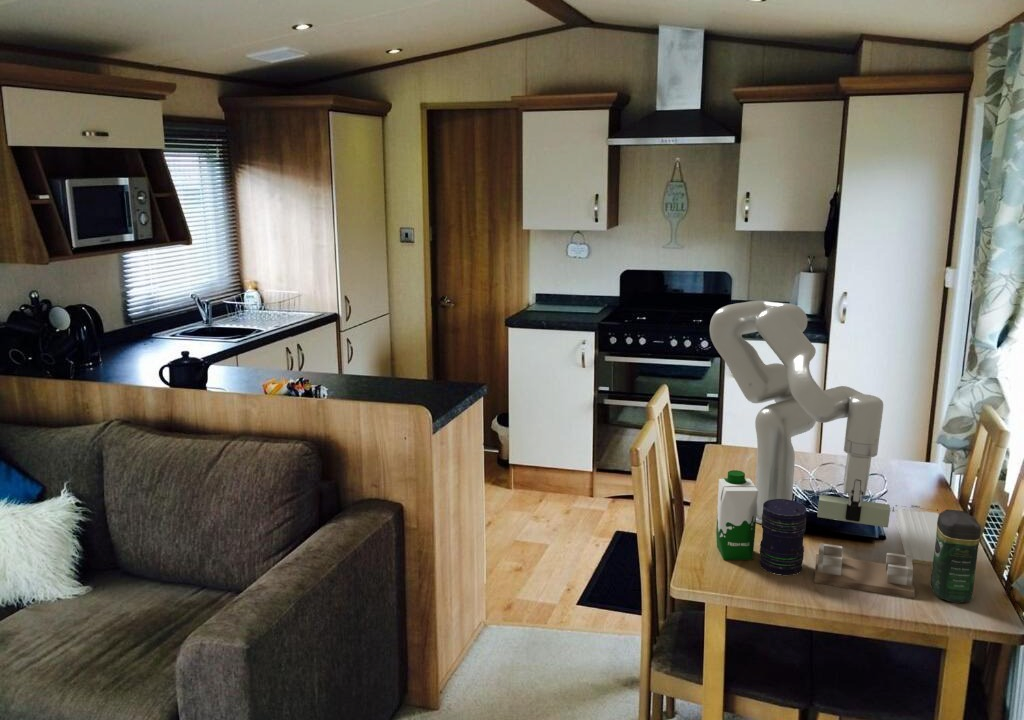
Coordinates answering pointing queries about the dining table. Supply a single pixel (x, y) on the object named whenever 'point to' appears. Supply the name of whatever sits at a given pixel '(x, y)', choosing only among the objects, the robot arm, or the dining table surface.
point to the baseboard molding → (918, 534)
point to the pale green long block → (869, 514)
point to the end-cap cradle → (865, 572)
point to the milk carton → (736, 516)
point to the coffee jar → (955, 556)
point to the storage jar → (782, 536)
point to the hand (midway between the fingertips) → (852, 516)
